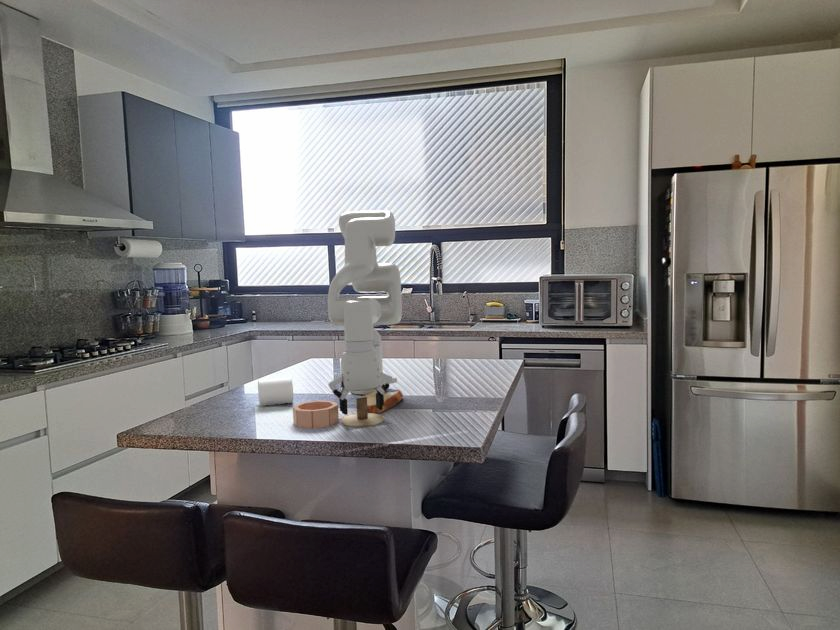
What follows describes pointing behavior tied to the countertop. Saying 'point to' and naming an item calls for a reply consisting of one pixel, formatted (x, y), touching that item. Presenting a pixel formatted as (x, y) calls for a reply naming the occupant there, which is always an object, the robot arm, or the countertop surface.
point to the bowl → (315, 414)
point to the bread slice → (388, 401)
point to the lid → (362, 416)
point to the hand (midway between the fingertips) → (362, 411)
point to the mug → (275, 391)
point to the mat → (363, 427)
